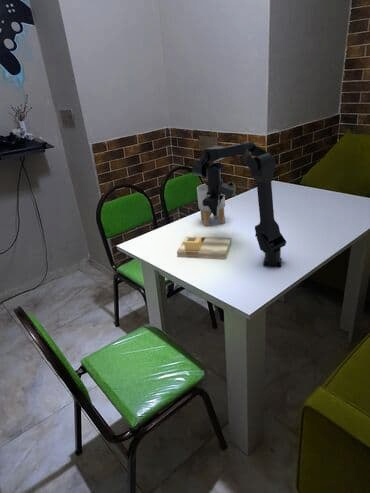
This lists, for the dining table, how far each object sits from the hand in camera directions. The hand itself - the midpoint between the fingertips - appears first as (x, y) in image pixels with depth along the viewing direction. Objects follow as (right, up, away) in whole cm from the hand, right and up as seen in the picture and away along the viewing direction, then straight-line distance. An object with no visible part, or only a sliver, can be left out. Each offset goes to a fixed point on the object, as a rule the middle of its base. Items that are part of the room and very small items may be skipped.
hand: (216, 214), depth 146 cm
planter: (+1, -1, +25) cm, 25 cm away
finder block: (-10, -14, -4) cm, 17 cm away
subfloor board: (-5, -15, -2) cm, 16 cm away
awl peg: (0, -2, +1) cm, 2 cm away
